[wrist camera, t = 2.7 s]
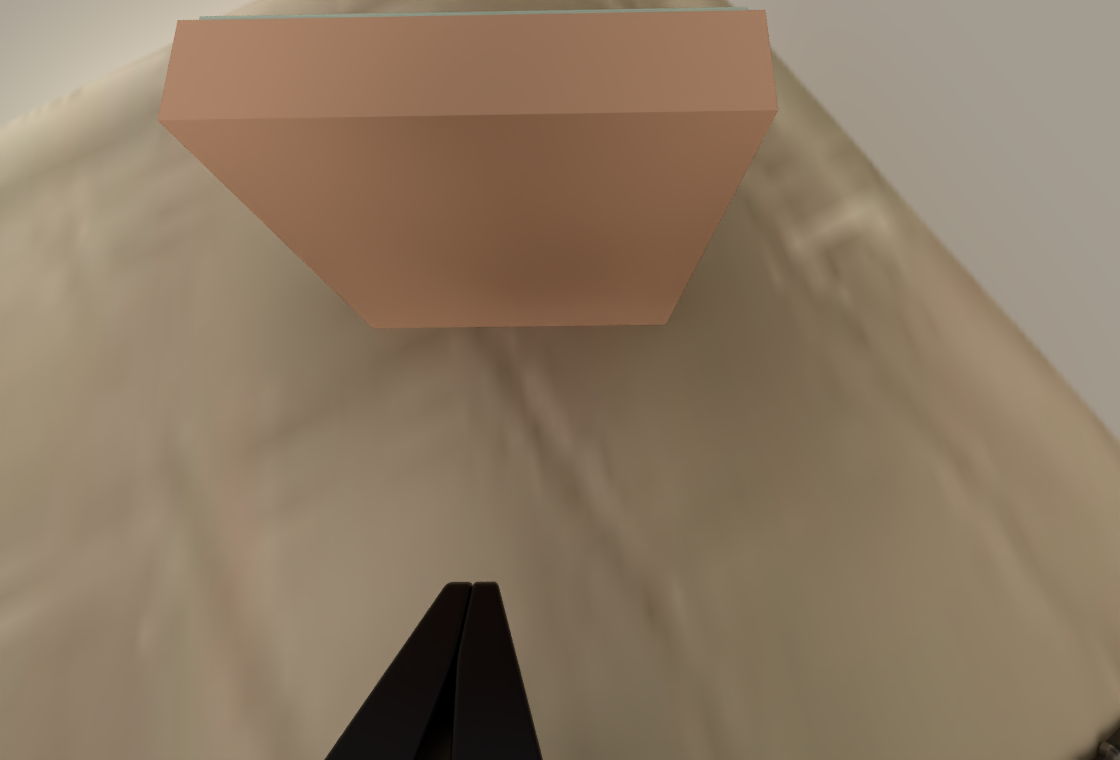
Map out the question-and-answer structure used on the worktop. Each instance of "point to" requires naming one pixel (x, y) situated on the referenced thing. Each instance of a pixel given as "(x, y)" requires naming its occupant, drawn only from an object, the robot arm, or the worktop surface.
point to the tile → (482, 151)
